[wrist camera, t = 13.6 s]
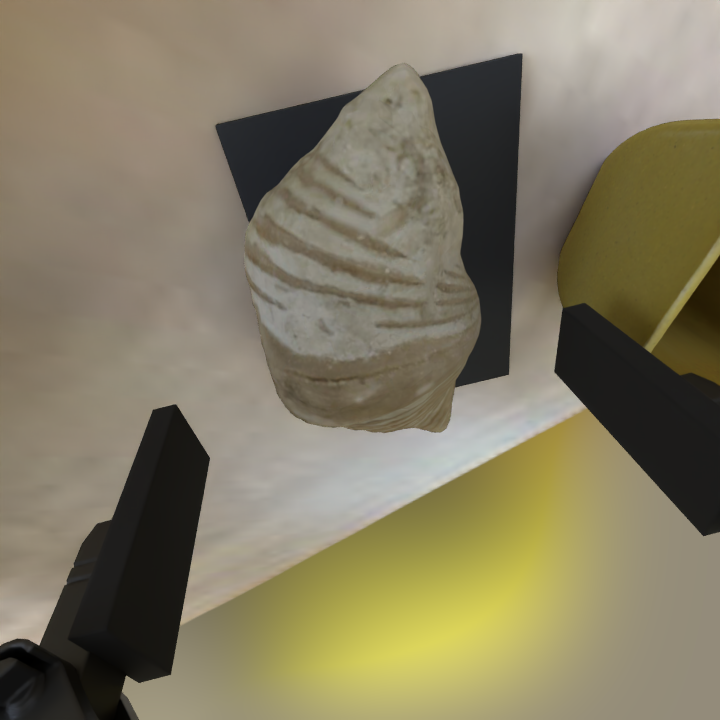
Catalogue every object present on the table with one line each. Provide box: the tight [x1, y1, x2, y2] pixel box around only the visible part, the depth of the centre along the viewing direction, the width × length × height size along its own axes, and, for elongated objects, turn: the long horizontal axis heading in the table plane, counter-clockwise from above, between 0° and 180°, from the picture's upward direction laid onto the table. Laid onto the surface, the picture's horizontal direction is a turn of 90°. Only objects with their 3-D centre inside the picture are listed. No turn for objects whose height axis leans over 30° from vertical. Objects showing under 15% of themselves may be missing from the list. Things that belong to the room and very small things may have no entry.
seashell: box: [244, 63, 481, 433], centre depth 17 cm, size 14×9×10 cm
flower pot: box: [557, 119, 720, 386], centre depth 17 cm, size 9×9×9 cm
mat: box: [216, 54, 522, 387], centre depth 20 cm, size 12×16×1 cm
